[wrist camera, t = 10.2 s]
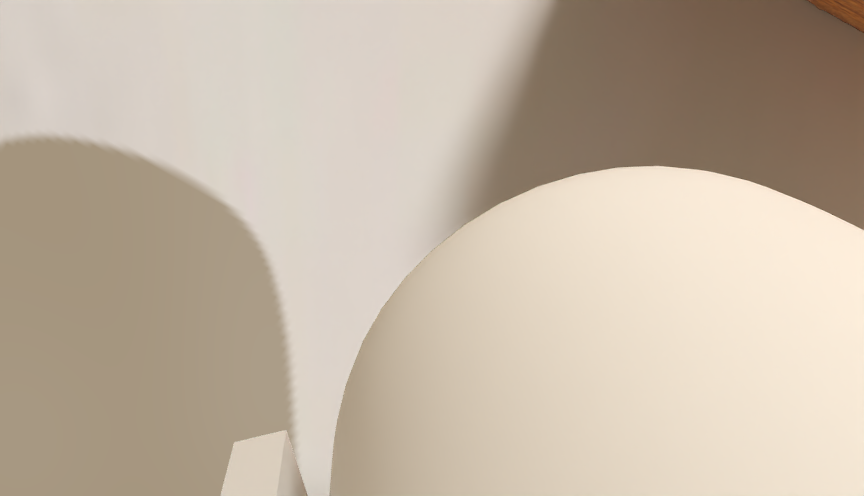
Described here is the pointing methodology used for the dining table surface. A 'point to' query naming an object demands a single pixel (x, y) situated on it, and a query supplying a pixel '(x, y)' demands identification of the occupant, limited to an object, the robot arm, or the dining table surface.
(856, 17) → the wooden box
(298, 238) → the dining table surface
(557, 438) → the mug
